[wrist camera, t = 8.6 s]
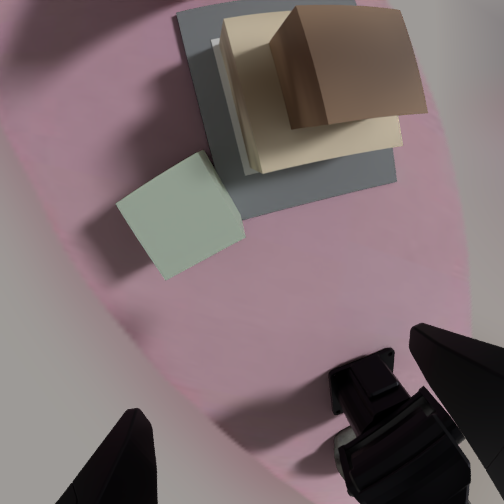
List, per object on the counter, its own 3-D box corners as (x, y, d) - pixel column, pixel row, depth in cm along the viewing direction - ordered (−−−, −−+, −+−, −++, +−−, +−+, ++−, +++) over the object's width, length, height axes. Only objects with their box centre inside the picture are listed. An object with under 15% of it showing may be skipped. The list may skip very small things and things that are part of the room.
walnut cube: (372, 116, 14) (427, 112, 9) (291, 129, 13) (328, 124, 9) (351, 37, 12) (399, 10, 8) (268, 43, 12) (295, 5, 8)
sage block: (240, 214, 18) (245, 237, 14) (177, 249, 19) (165, 280, 15) (203, 149, 17) (197, 152, 13) (139, 188, 17) (115, 203, 13)
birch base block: (367, 143, 18) (403, 145, 14) (250, 167, 18) (262, 173, 14) (340, 31, 15) (370, 11, 11) (219, 43, 15) (223, 18, 11)
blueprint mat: (394, 181, 20) (397, 181, 19) (229, 222, 19) (229, 223, 19) (351, -2, 15) (353, -4, 14) (176, 14, 14) (176, 12, 14)
